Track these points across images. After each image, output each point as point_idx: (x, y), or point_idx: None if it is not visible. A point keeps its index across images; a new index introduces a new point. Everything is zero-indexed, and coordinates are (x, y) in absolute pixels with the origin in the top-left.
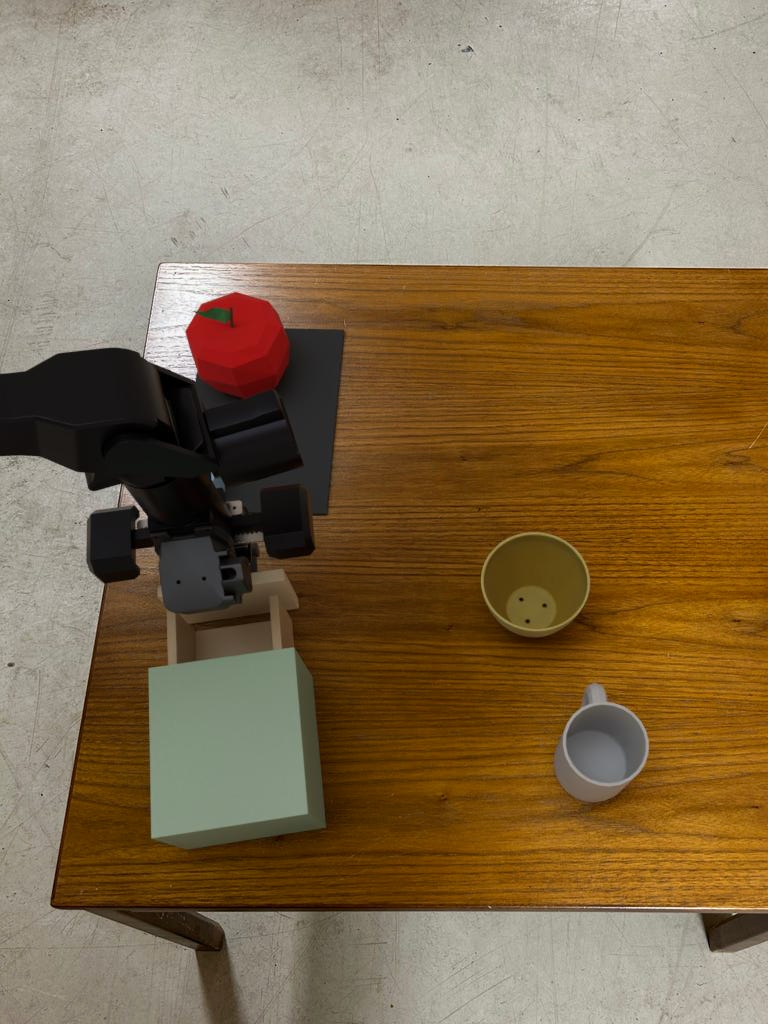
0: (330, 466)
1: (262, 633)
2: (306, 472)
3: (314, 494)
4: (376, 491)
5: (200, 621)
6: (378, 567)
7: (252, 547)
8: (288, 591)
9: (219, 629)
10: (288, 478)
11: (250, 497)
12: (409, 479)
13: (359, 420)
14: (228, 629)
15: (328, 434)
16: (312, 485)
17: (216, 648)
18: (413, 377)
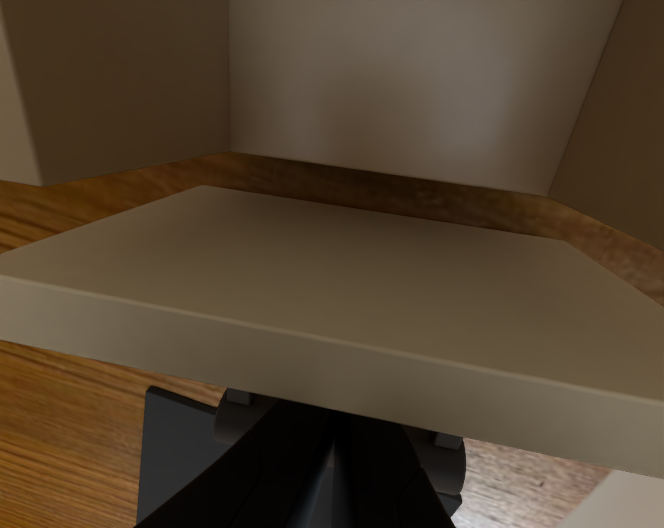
0: (141, 464)
1: (304, 112)
2: (185, 470)
3: (170, 431)
4: (60, 394)
5: (505, 233)
6: (31, 241)
7: (225, 435)
8: (104, 220)
9: (455, 176)
10: None
11: None
12: (4, 393)
13: (103, 503)
14: (422, 166)
15: (147, 507)
16: (173, 447)
17: (493, 94)
18: (30, 522)
